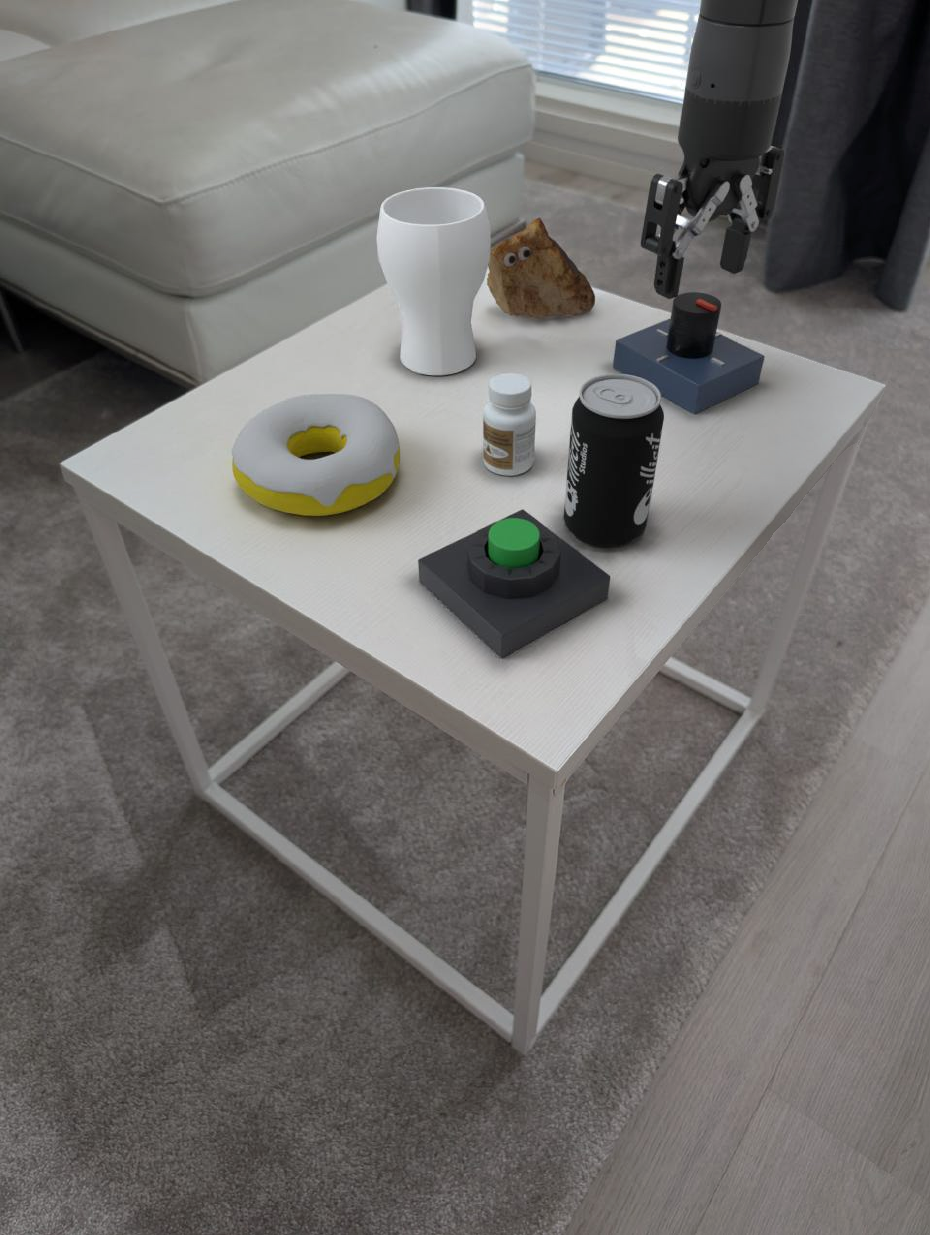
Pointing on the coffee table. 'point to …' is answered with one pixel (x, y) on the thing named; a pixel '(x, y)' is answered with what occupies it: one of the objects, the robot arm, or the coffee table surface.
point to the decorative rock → (537, 277)
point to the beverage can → (612, 459)
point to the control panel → (688, 367)
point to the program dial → (693, 324)
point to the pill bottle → (509, 425)
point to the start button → (514, 543)
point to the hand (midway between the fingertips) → (699, 282)
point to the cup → (435, 272)
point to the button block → (513, 587)
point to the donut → (311, 427)
